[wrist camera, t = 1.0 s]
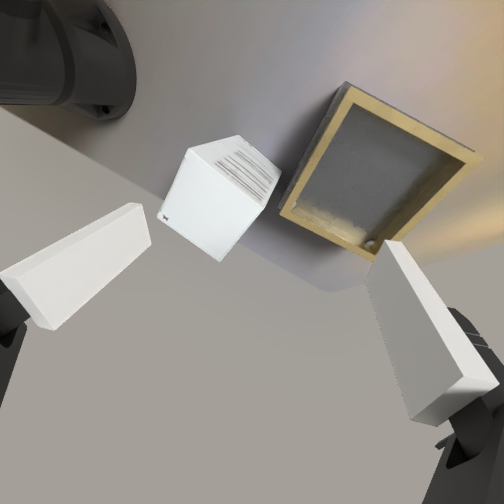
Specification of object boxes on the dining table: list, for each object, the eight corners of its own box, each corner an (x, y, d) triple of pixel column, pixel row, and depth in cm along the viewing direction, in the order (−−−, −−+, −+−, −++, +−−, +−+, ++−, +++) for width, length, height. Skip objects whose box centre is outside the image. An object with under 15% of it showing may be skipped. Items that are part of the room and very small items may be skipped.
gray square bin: (281, 195, 37) (274, 216, 30) (339, 86, 28) (349, 77, 20) (363, 237, 38) (376, 268, 30) (446, 144, 28) (494, 155, 21)
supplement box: (250, 213, 40) (218, 266, 26) (209, 181, 39) (152, 219, 25) (284, 170, 35) (266, 208, 21) (238, 132, 33) (186, 145, 20)
